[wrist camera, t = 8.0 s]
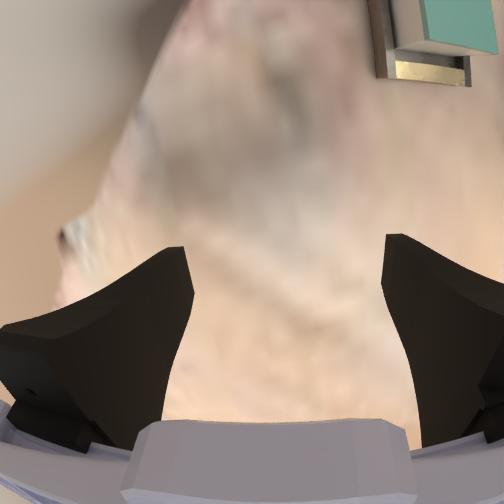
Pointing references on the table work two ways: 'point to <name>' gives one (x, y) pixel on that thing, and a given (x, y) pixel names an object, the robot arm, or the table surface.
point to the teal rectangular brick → (443, 26)
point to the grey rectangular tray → (412, 56)
